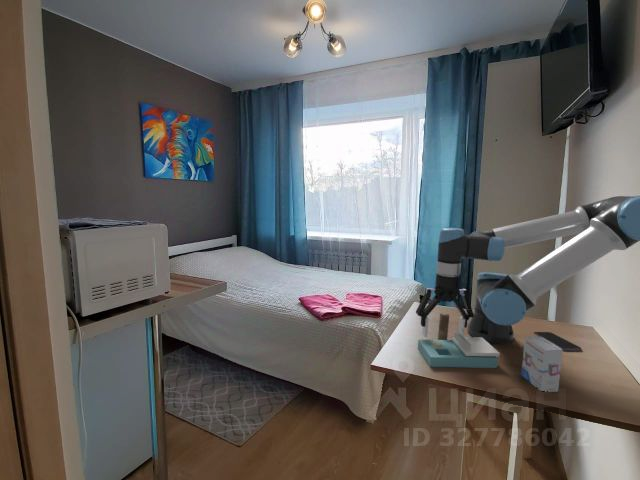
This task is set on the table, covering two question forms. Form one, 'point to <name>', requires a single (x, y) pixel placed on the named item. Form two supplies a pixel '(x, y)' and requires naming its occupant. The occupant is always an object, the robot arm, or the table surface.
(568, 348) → the smartphone
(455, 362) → the board
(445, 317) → the peg
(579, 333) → the table surface
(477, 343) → the cover
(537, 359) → the ink box
